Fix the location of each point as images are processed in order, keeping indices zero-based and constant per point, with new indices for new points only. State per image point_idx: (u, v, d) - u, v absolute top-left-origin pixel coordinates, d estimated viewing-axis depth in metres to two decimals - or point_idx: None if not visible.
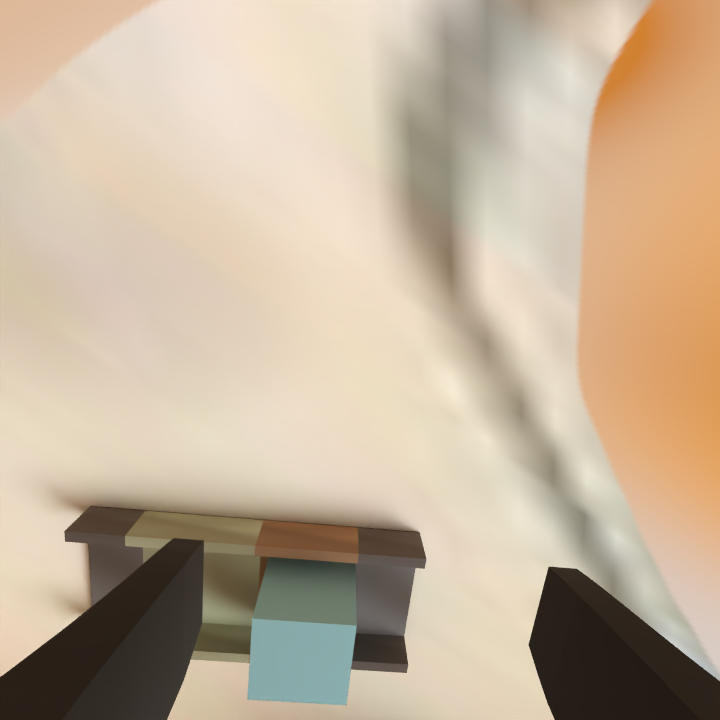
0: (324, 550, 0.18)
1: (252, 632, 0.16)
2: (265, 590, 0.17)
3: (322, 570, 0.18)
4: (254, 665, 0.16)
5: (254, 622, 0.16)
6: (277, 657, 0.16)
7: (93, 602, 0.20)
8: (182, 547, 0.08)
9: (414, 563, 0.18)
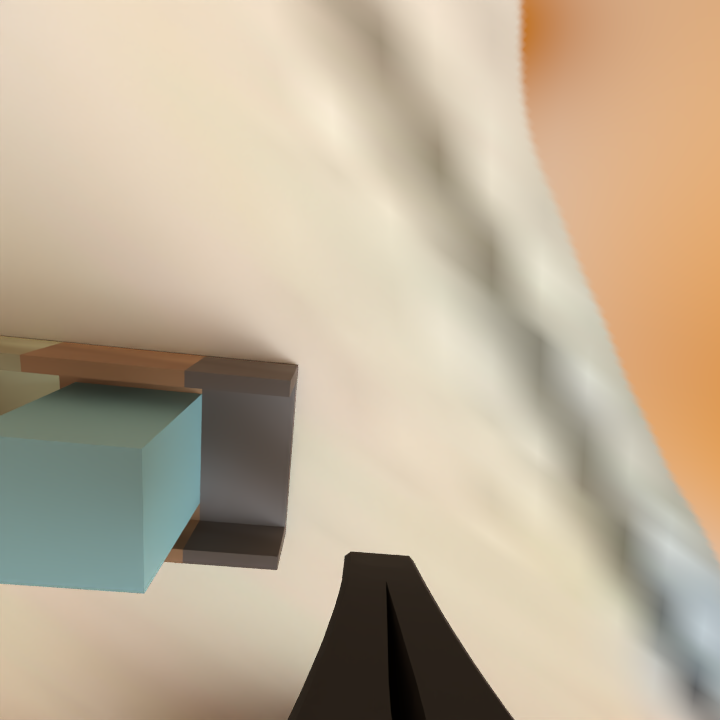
0: (131, 364, 0.12)
1: None
2: (19, 412, 0.11)
3: (135, 402, 0.12)
4: None
5: None
6: (16, 506, 0.10)
7: None
8: (367, 561, 0.08)
9: (273, 388, 0.12)
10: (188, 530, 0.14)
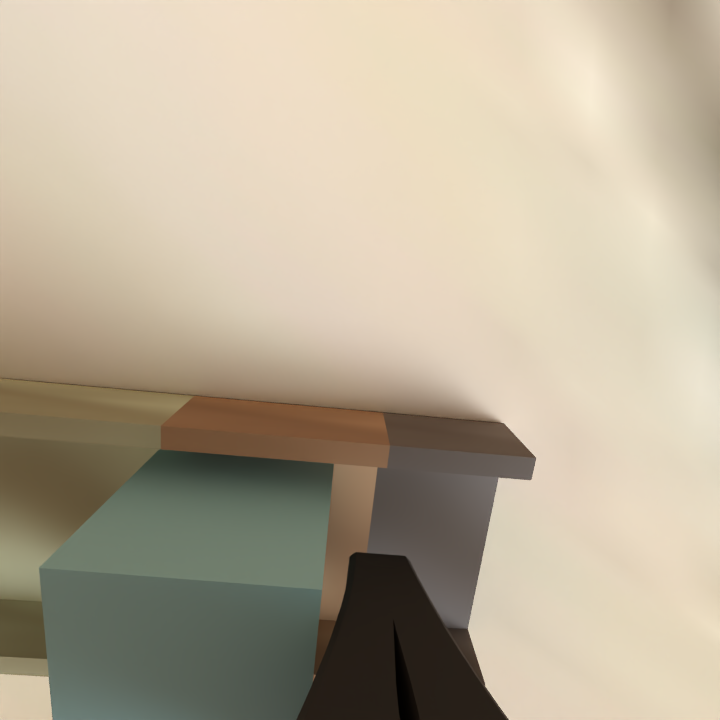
0: (315, 438, 0.08)
1: (45, 606, 0.06)
2: (111, 510, 0.07)
3: (259, 481, 0.09)
4: (62, 692, 0.06)
5: (47, 579, 0.06)
6: (120, 671, 0.06)
7: None
8: (373, 561, 0.08)
9: (509, 468, 0.08)
10: None
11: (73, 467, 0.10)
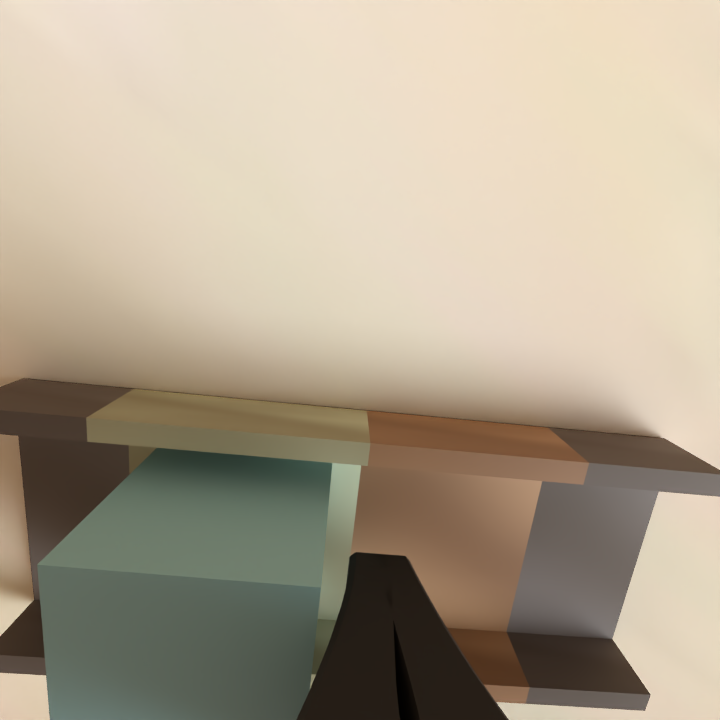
0: (516, 455, 0.08)
1: (43, 603, 0.06)
2: (110, 508, 0.07)
3: (258, 479, 0.09)
4: (59, 689, 0.06)
5: (45, 575, 0.06)
6: (118, 668, 0.06)
7: (34, 574, 0.10)
8: (373, 562, 0.08)
9: (701, 485, 0.09)
10: (508, 651, 0.11)
11: None
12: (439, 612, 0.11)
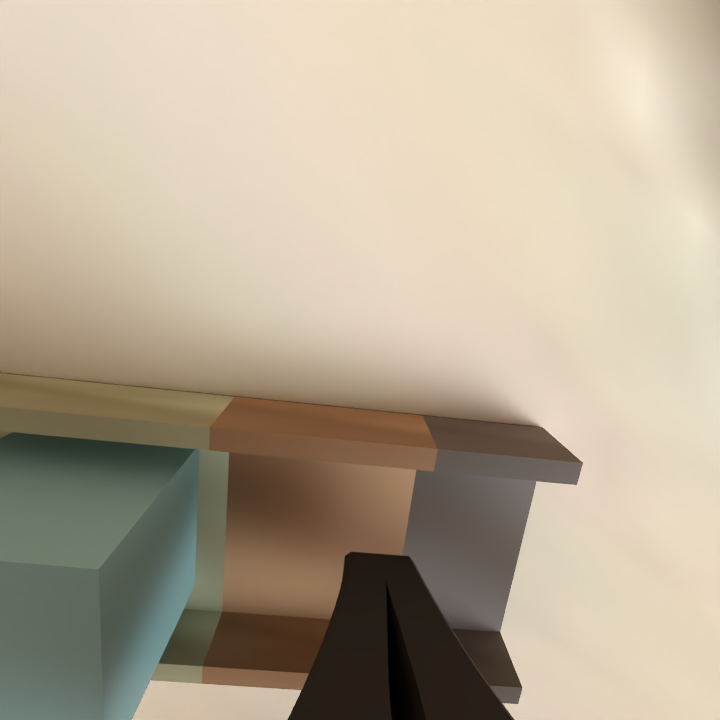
0: (363, 440, 0.08)
1: None
2: None
3: (102, 464, 0.08)
4: None
5: None
6: None
7: None
8: (367, 561, 0.08)
9: (555, 473, 0.08)
10: None
11: None
12: (320, 603, 0.11)
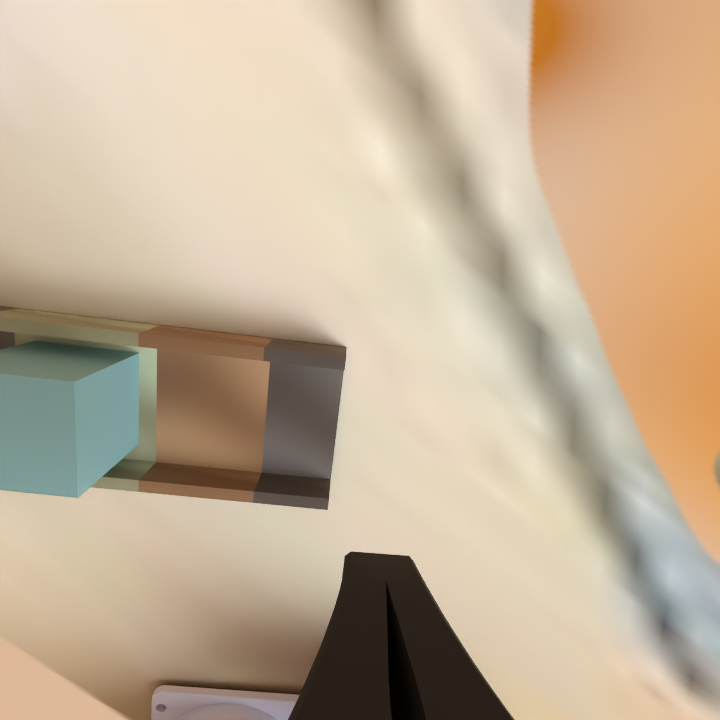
0: (223, 342, 0.15)
1: None
2: None
3: (80, 355, 0.15)
4: None
5: None
6: None
7: None
8: (367, 561, 0.08)
9: (332, 363, 0.15)
10: (254, 478, 0.17)
11: None
12: (216, 457, 0.18)
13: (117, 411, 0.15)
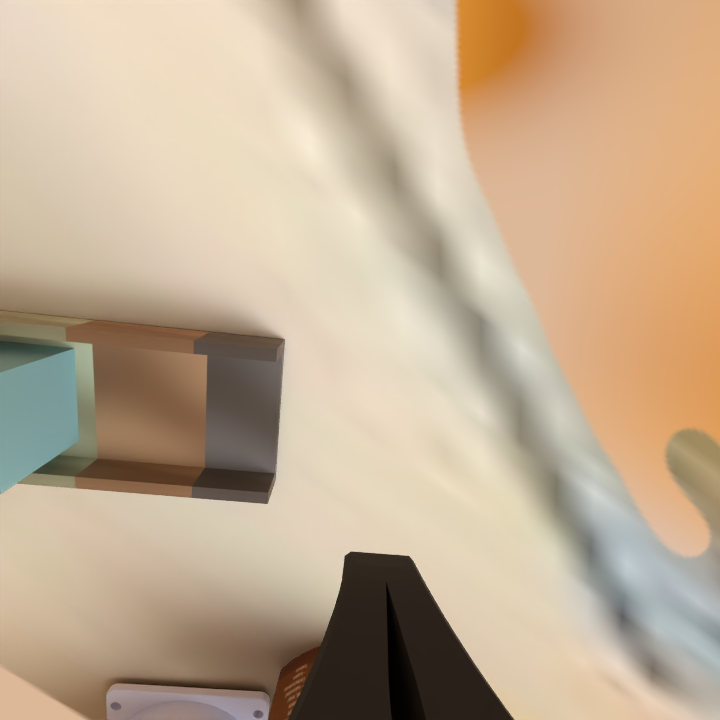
0: (151, 336, 0.15)
1: None
2: None
3: (9, 351, 0.15)
4: None
5: None
6: None
7: None
8: (367, 561, 0.08)
9: (263, 355, 0.15)
10: (196, 474, 0.17)
11: None
12: (158, 453, 0.17)
13: (48, 407, 0.15)
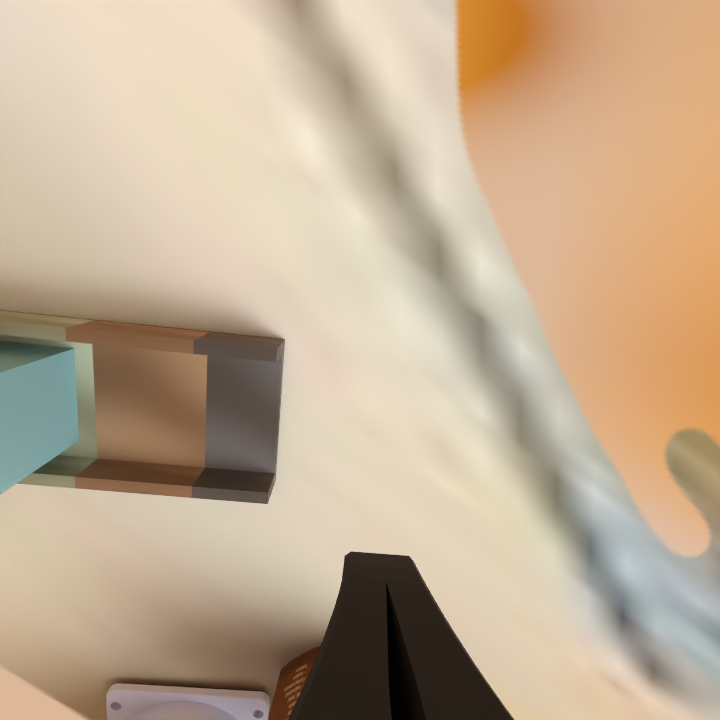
0: (151, 336, 0.15)
1: None
2: None
3: (9, 351, 0.15)
4: None
5: None
6: None
7: None
8: (367, 561, 0.08)
9: (263, 355, 0.15)
10: (196, 474, 0.17)
11: None
12: (158, 453, 0.17)
13: (48, 407, 0.15)
